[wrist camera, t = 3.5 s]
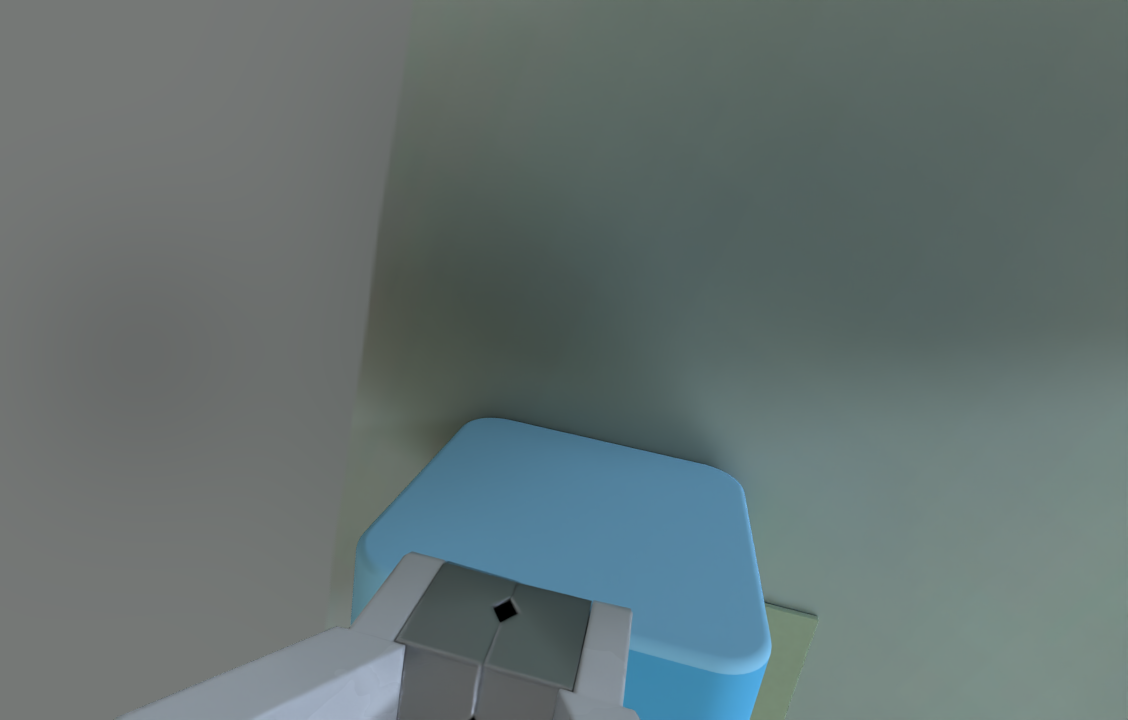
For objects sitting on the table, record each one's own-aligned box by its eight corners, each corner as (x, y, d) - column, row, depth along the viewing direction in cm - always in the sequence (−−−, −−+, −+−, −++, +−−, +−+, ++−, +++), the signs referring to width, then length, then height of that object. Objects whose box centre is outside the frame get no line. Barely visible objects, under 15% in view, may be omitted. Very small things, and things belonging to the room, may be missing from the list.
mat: (817, 616, 28) (818, 620, 28) (744, 827, 32) (744, 833, 32) (455, 521, 30) (453, 525, 30) (427, 729, 34) (425, 734, 34)
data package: (463, 497, 30) (325, 690, 18) (474, 409, 28) (333, 559, 17) (717, 560, 28) (738, 814, 17) (742, 471, 27) (782, 680, 16)
